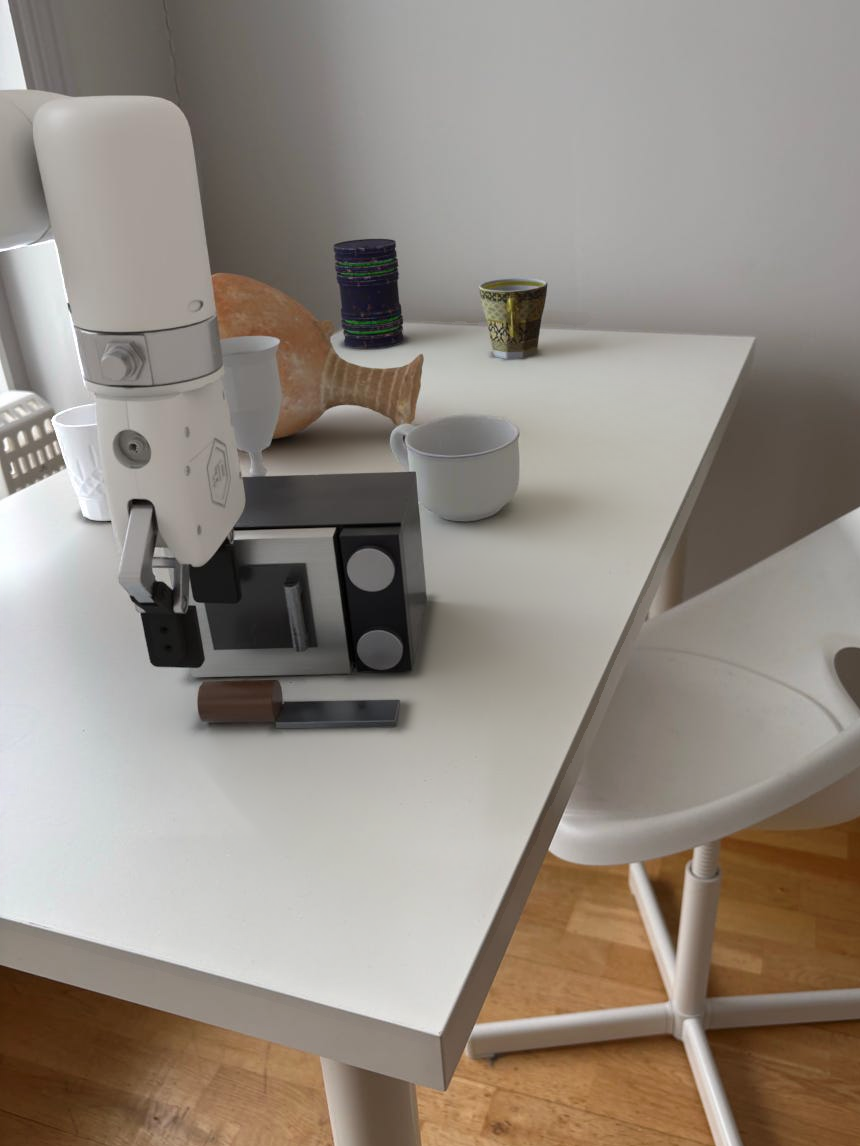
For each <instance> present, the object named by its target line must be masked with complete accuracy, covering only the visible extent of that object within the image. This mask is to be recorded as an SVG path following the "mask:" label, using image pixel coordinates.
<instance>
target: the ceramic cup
mask: <svg viewBox="0 0 860 1146" xmlns="http://www.w3.org/2000/svg"><path fill="white" fill-rule="evenodd" d="M478 290H479V295H480V296H479V297H480V300H481V301H480V302H481V304H482V310H483V313H484V316H485V318H486V323H487V329H488V334H489V339H490V342H491V348H492V353H493V356H494V357H496V358H500V359H504V360H521V359H526V358H530V357H533V356H536V354H537V353H538V347H539V339H540V331H541V326H542V325H541V324H542V319H543V314H544V310H545V304H546V300H547V294H548V293H547V292H548V282H547V281H546V280H543V279H540V278H539V279H538V278H531V277H530V278H529V277H513V278H512V277H511V278H501V279H493V280H490V281H486V282H483V283H481V284H479V285H478Z"/></svg>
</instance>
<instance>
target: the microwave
mask: <svg viewBox="0 0 860 1146" xmlns="http://www.w3.org/2000/svg"><path fill="white" fill-rule="evenodd" d="M242 479H243V485H244V491H245V507H244V510H243V512H242V514H241V516H240V518H239V519H238V521H237V522H236V524H235V525H234V527H233V529H234V531H242V530H272V529H302V528H332V527H336V528H337V536H338V543H339V551H340V559H341V566H342V574H343V582H344V590H345V597H346V605H347V613H348V621H349V628H350V636H351V644H352V652H353V659H354V663H353V664H355V670H356V672H357V673H361V672H362V673H363V672H365V673H366V672H368V673H369V672H411V671H413V666H414V662H415V659H416V655H417V650H418V645H419V639H420V634H421V630H422V624H423V619H424V616H425V615H424V614H425V610H426V606H427V601H428V599H427V586H426V575H425V574H426V573H425V563H424V551H423V550H424V549H423V539H422V527H421V516H420V502H419V501H418V491H417V482H416V481H417V479H416V472H415V471H413V472H409V471H388V472H387V471H385V472H383V471H381V472H357V473H355V472H354V473H325V474H324V473H323V474H319V473H318V474H295V475H294V474H293V475H290V474H289V475H266V476H256V477H252V476H242Z"/></svg>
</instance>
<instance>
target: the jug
mask: <svg viewBox="0 0 860 1146" xmlns="http://www.w3.org/2000/svg"><path fill="white" fill-rule="evenodd" d="M211 278H212V285H213V293H214V300H215V307H216V314H217V322H218V329H219V336H220V340H221V339H227V338H233V337H243V336H270V337H274V338H277V339H279V340H280V343H279V346H278V349H277V352H276V359H277V365H278V372H279V379H280V386H281V392H282V400H281V406H280V412H279V417H278V422H277V425H276V428H275V431H274V434H273V437H272V440H275V439H282V438H286V437H291V436H292V435H294V434H296V433H297V432H299V431H301V430H304V429H306V428H307V427H309V426H310V425H311V424H313V423H314V422H316V421H318V420H319V419H320V418H321V417H322V415H324V413H325V412H326V411H328V410H329V409H332V408H335V407H339V406H358V407H361V408H366V409H368V410H371V411H373V412H375V413H379V414H381V415H382V416H383V417H385V418H388V419H390V420H391V422H392V423H393V424H394V425H395V426H396V427H397V426H399V425H401V424H412V423H413V422H414V421H415V419H416V410H417V404H418V403H417V402H418V399H419V396H420V395H419V394H420V391H421V387H422V381H421V380H422V375H423V365H424V361H425V360H424V359H425V357H424V355H423V353H420V354H418V355H417V356H416V357H415V358H414V359H413V360H412V361H411V362H409V363H407V364H405V365H402V366H396V367H389V368H388V367H387V368H377V367H368V366H361V365H358V364H356V363H352V362H349V361H347V360H346V359H343V358H341V356H339V354H338V353H337V352H336V350H335V348H334V345H333V344H332V341H331V337H332V336H333V334H335V333H334V332H335V329H336V328H335V325H334V324H333V322H332V321H330V320H328V319H327V320H324V321H318V320H317V318H315V317H314V316H313V314H312V313H311V312H310V311H309V310H308V309H307V308H306V307H304V306H303V305H302V304H301V303H299V302H298V301H297V300H295V299H293V298H292V297H290V296H289V295H288V294H286V293H284V292H283V291H281V290H279V289H277V288H275V287H273V286H271V285H268V284H266V283H264V282H262V281H259V280H257V279H255V278H252V277H250V276H246V275H242V274H235V273H228V272H216V273H214V274H211ZM403 437H405V438H406V435H404V434H403Z"/></svg>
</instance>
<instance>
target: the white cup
mask: <svg viewBox="0 0 860 1146" xmlns="http://www.w3.org/2000/svg"><path fill="white" fill-rule="evenodd" d="M51 422H52V425H53V428H54V429H53V430H54V432H55V435H56V438H57V442H58V445H59V448H60V451H61V455H62V458H63V460H64V465H65V468H66V470H67V473H68V476H69V479H70V482H71V484H72V487H73V488H72V489H73V490H74V492H75V493H76V497H77V500H78V503H79V506H80V510H81V513H82V516H83V517H85V518H86V519H88V520H91V521H98V522H108V521H109V522H110V521H111V517H110V512H109V507H108V501H107V495H106V489H105V483H104V477H103V470H102V463H101V455H100V447H99V439H98V430H97V419H96V407H95V403H89V404H83V405H79V406H75V407H72V408H71V407H70V408H68V409H66V410H62V411H61V412H58V413H57V414H55V415H54V416H53V417H52V419H51Z"/></svg>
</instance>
